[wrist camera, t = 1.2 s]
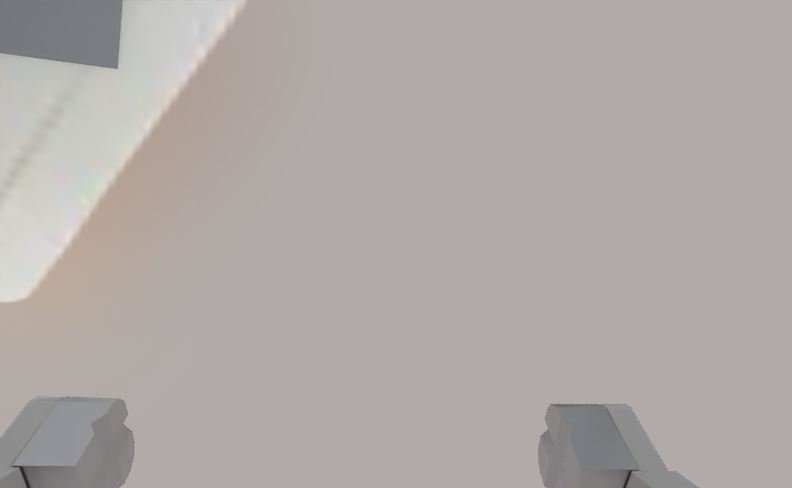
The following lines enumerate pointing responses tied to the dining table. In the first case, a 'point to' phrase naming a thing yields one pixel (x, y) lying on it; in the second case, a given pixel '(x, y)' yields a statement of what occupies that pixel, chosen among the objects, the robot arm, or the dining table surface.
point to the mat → (62, 30)
